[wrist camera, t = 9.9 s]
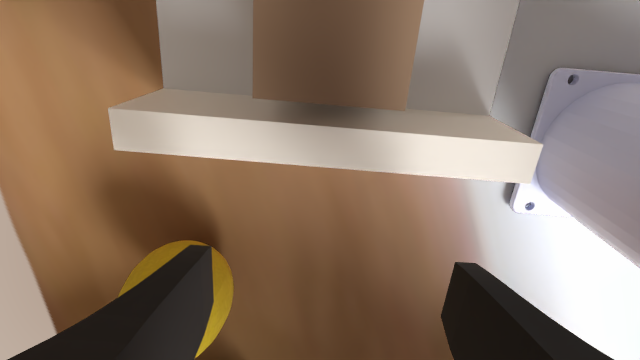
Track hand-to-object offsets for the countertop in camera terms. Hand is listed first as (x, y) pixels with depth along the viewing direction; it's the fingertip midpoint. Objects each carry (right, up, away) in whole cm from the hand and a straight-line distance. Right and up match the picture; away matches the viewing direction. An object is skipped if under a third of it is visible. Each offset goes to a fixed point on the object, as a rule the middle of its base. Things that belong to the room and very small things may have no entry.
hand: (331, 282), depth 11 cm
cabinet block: (0, +10, +4) cm, 11 cm away
